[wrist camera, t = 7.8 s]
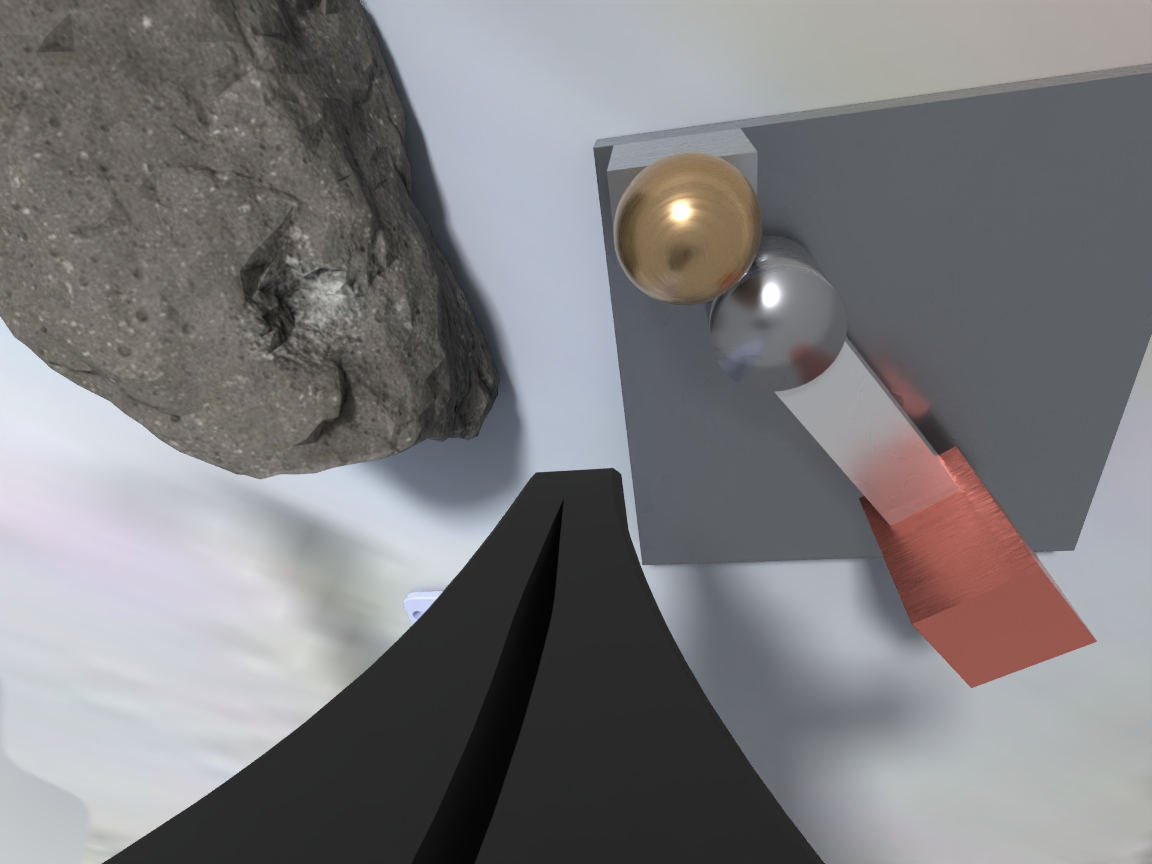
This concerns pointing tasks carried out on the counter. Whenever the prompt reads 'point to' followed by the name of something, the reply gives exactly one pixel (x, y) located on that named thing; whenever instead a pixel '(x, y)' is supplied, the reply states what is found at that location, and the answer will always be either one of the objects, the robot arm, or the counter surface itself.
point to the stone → (229, 231)
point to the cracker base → (887, 301)
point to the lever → (895, 473)
